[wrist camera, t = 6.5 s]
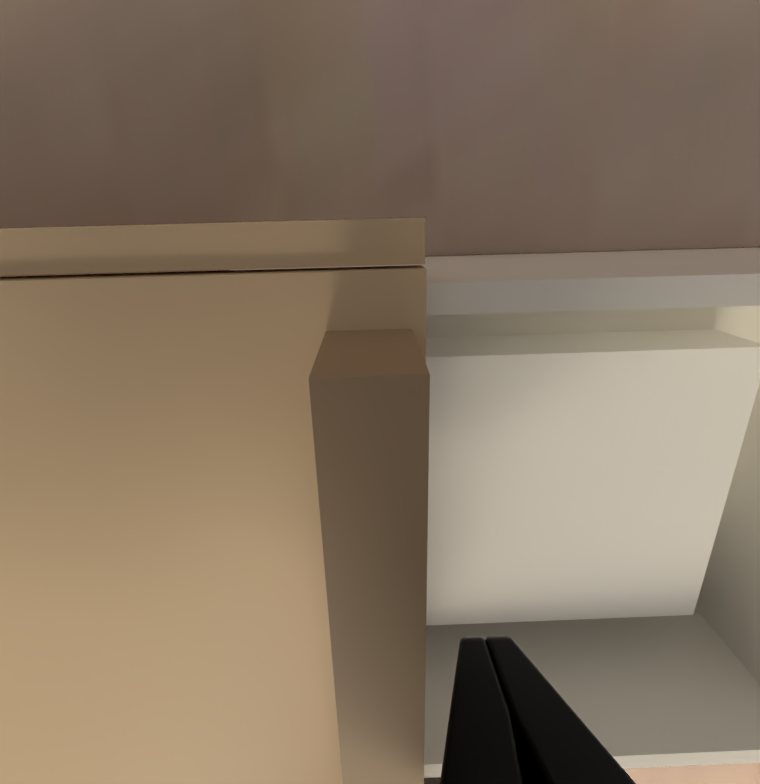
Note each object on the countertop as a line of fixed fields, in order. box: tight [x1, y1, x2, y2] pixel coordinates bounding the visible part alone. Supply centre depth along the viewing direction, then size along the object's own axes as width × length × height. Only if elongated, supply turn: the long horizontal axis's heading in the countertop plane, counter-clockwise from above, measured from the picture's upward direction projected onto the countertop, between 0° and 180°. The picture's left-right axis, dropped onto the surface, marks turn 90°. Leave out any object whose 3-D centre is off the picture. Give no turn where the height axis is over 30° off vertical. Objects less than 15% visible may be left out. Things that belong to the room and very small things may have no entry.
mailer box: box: [233, 247, 760, 778], centre depth 12 cm, size 12×14×5 cm
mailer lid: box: [0, 217, 430, 784], centre depth 8 cm, size 14×14×4 cm
